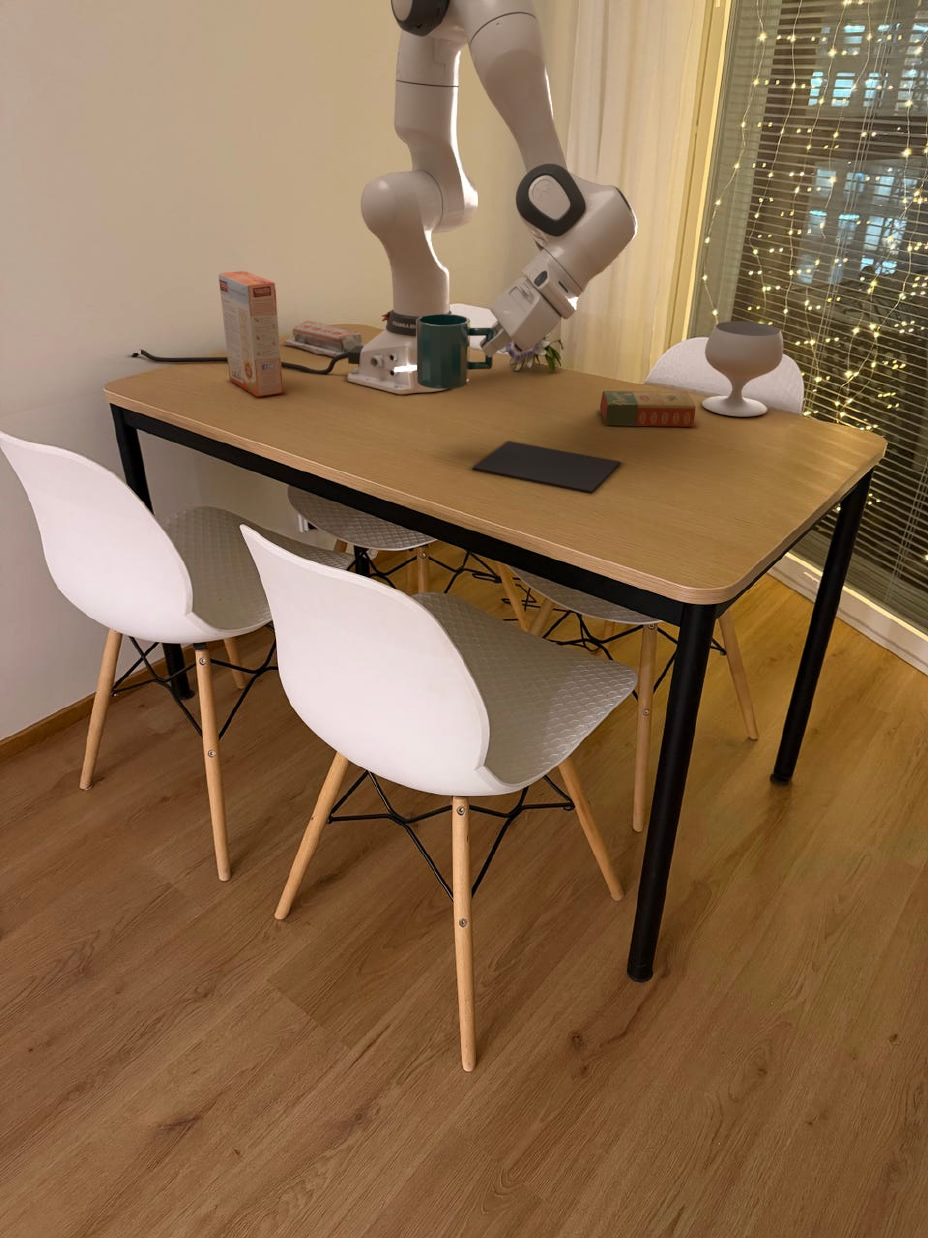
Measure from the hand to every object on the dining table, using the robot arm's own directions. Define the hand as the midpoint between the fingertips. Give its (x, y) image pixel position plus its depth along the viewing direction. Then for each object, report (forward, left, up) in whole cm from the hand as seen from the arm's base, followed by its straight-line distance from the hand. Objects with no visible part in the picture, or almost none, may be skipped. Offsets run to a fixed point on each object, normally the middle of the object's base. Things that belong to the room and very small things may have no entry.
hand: (484, 351), depth 142 cm
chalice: (+32, +46, -17) cm, 58 cm away
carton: (+19, +31, -17) cm, 40 cm away
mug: (-4, -3, -5) cm, 6 cm away
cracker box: (-55, +12, -17) cm, 59 cm away
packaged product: (-60, +44, -17) cm, 76 cm away
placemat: (+12, 0, -17) cm, 21 cm away
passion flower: (-13, +53, -17) cm, 57 cm away
